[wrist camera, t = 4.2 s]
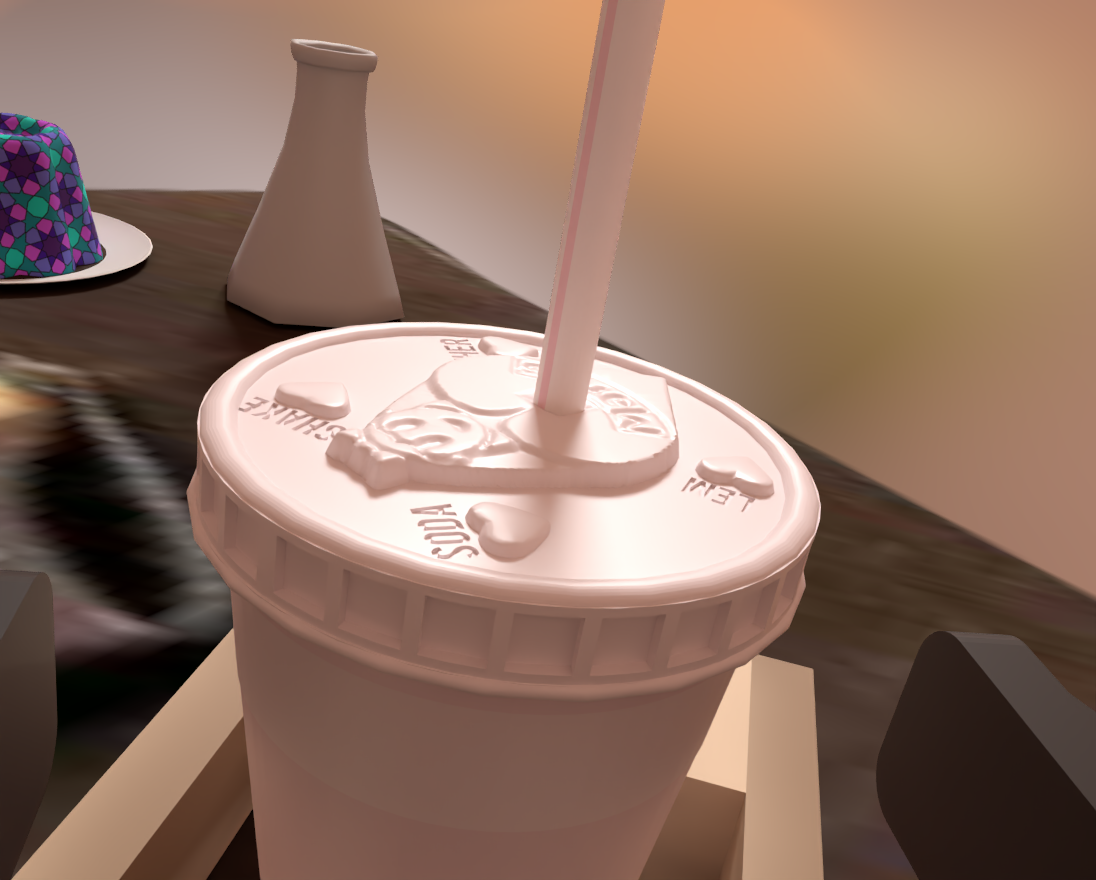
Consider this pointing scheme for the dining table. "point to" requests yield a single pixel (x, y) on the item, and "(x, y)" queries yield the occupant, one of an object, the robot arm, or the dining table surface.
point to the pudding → (54, 211)
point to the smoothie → (492, 565)
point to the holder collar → (226, 801)
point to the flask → (320, 207)
